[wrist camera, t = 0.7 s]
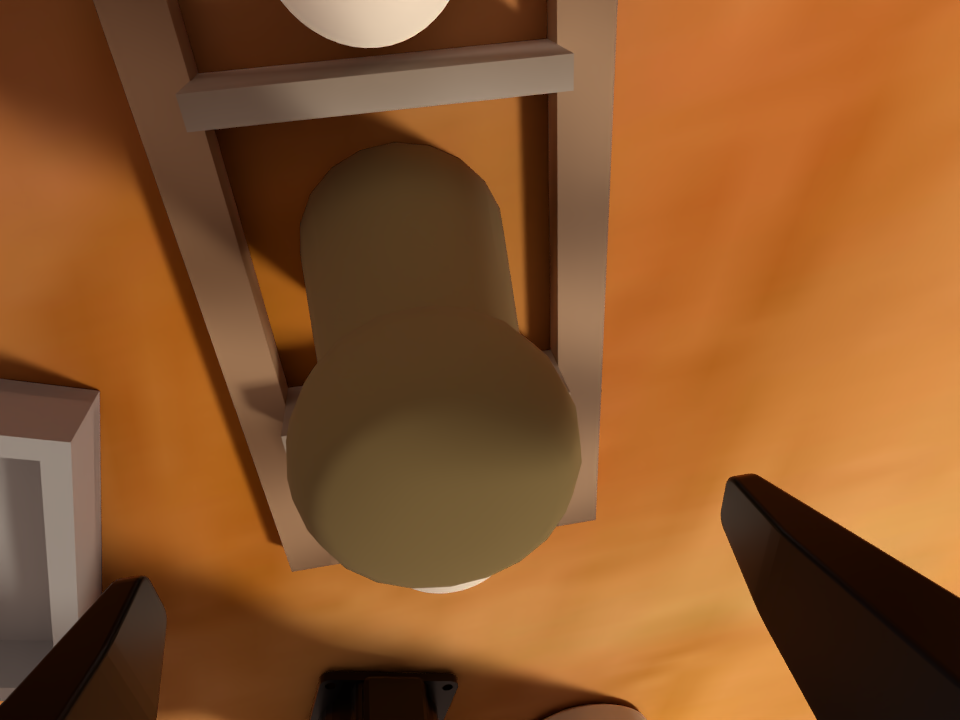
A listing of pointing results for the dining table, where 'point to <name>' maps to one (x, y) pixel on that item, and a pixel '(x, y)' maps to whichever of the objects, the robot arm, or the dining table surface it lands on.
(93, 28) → the dining table surface
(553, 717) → the travel mug
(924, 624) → the robot arm
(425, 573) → the cork
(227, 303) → the ladder
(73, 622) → the tray
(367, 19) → the white short cylinder
